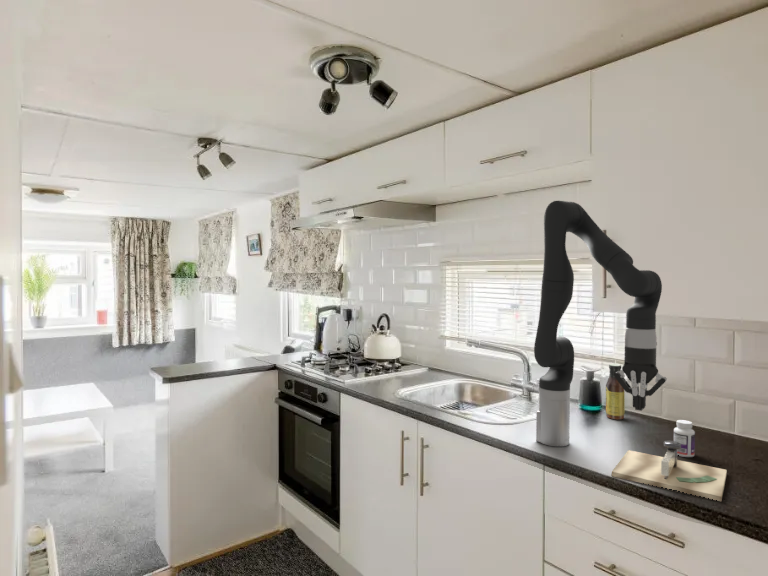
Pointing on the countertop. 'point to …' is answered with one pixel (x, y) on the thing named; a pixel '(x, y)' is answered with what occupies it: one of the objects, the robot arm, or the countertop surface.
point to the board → (672, 475)
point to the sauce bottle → (614, 395)
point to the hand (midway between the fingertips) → (639, 409)
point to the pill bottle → (685, 438)
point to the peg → (669, 457)
